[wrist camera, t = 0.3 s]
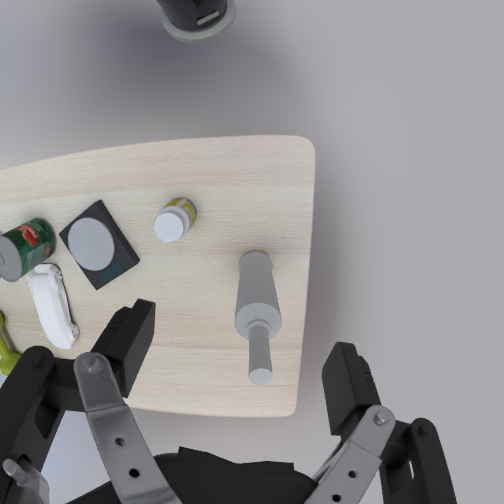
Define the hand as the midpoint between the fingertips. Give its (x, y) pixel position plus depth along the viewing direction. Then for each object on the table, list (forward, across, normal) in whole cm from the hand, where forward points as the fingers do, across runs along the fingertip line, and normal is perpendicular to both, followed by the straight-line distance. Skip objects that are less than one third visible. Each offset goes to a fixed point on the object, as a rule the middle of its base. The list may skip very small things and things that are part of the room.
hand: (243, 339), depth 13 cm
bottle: (+33, -3, +13) cm, 36 cm away
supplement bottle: (+33, +10, +7) cm, 35 cm away
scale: (+32, +24, +16) cm, 43 cm away
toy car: (+30, +34, +31) cm, 55 cm away
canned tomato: (+31, +37, +17) cm, 52 cm away
